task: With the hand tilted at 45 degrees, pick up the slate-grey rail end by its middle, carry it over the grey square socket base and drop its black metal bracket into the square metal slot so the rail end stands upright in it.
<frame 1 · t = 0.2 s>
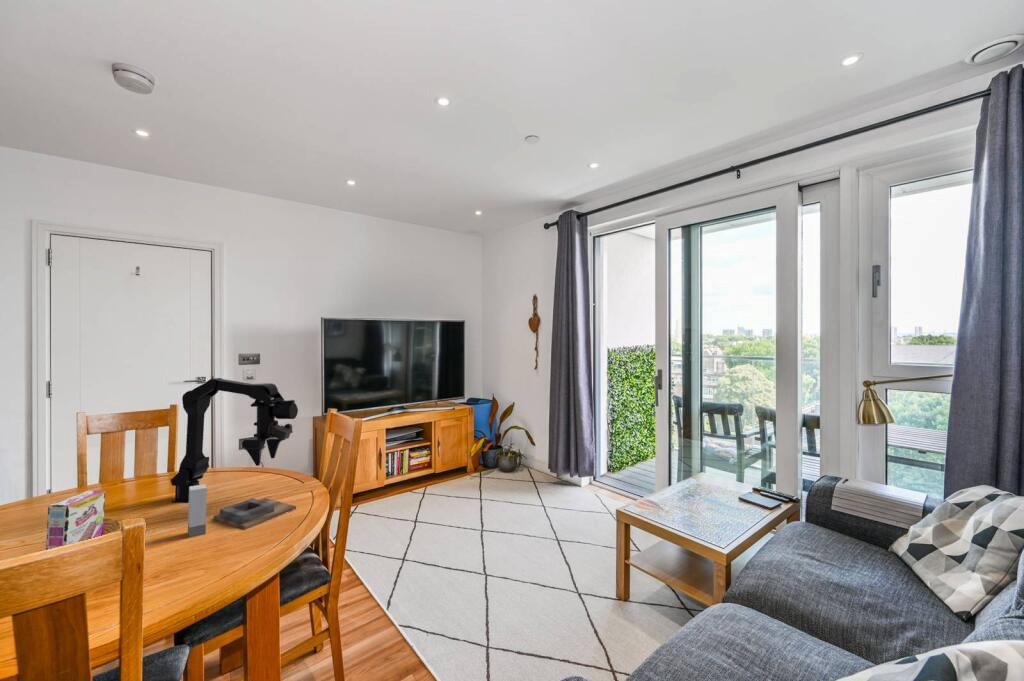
hand: (265, 461, 154), 14 cm above the table, tool pointing down, fingers open, 9 cm apart
candy bar box: (75, 560, 112), on the table
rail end: (196, 533, 128), on the table
grey square socket base: (247, 517, 140), on the table
pastry: (103, 535, 126), on the table
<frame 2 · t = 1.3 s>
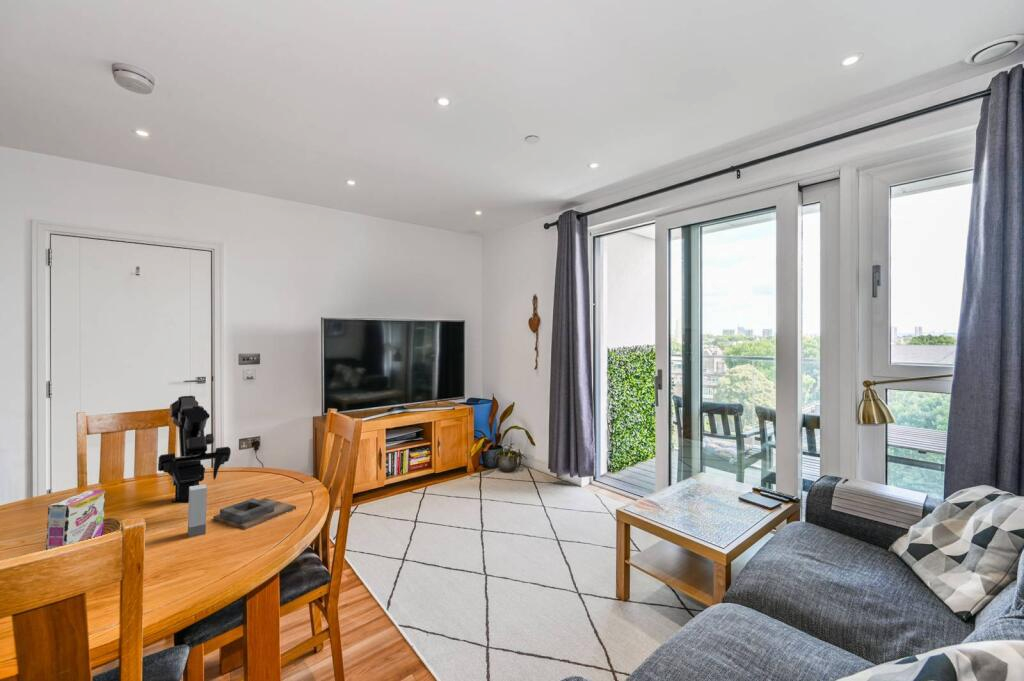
hand: (197, 481, 135), 13 cm above the table, tool tilted 45°, fingers open, 9 cm apart
nothing on the table moved.
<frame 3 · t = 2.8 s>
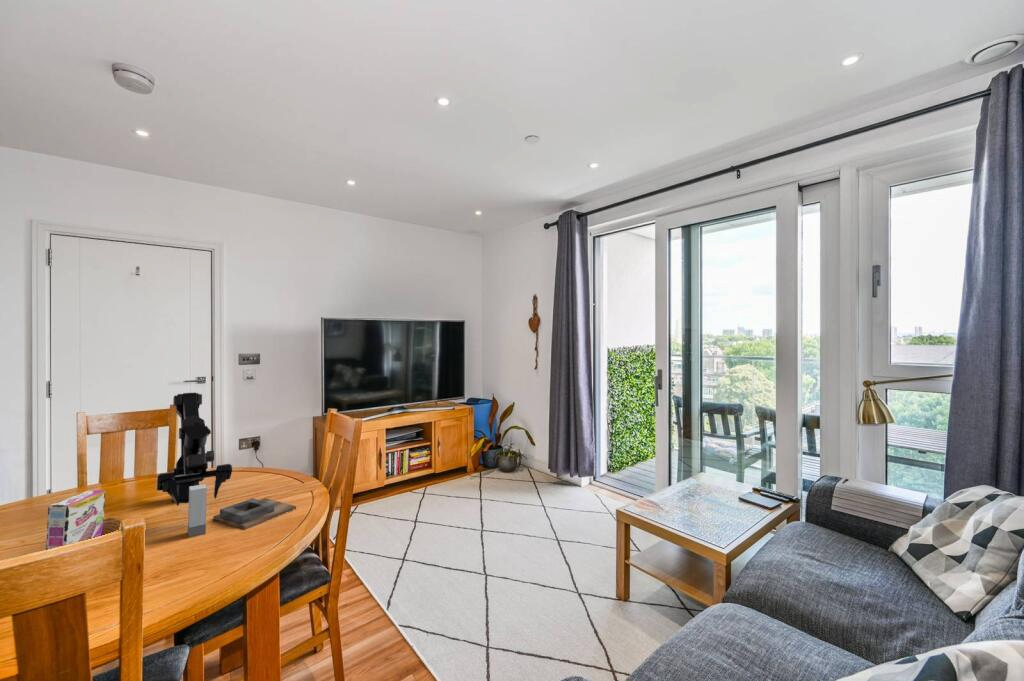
hand: (197, 501, 129), 9 cm above the table, tool tilted 45°, fingers open, 9 cm apart
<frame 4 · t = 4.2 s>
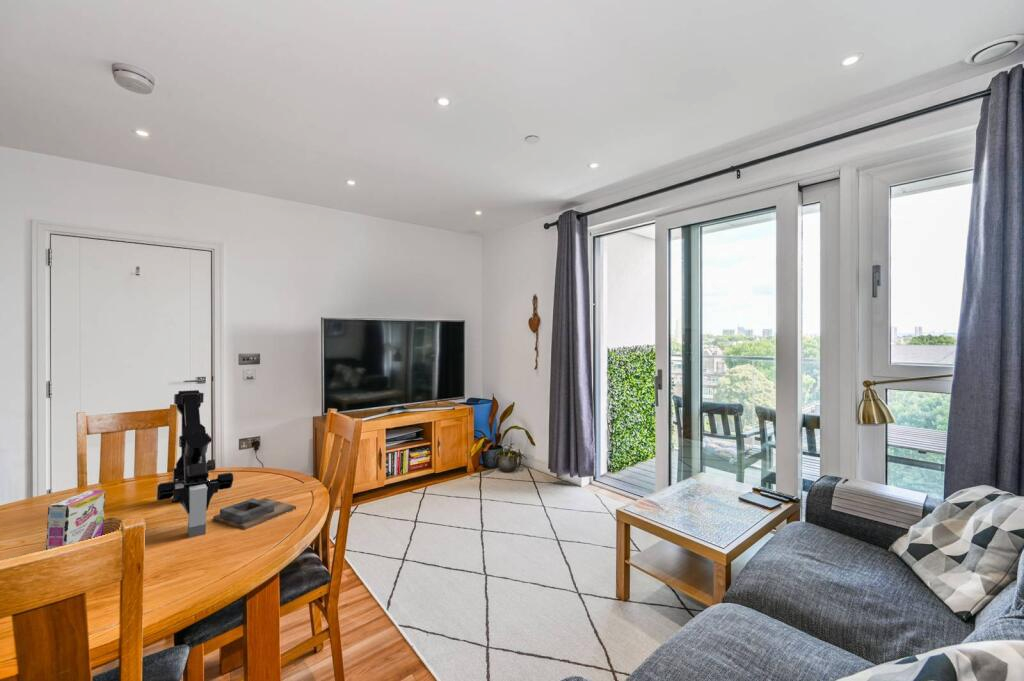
hand: (197, 511, 127), 7 cm above the table, tool tilted 45°, fingers closed on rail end, 4 cm apart
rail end: (196, 533, 128), on the table, touching gripper
everything else where it was.
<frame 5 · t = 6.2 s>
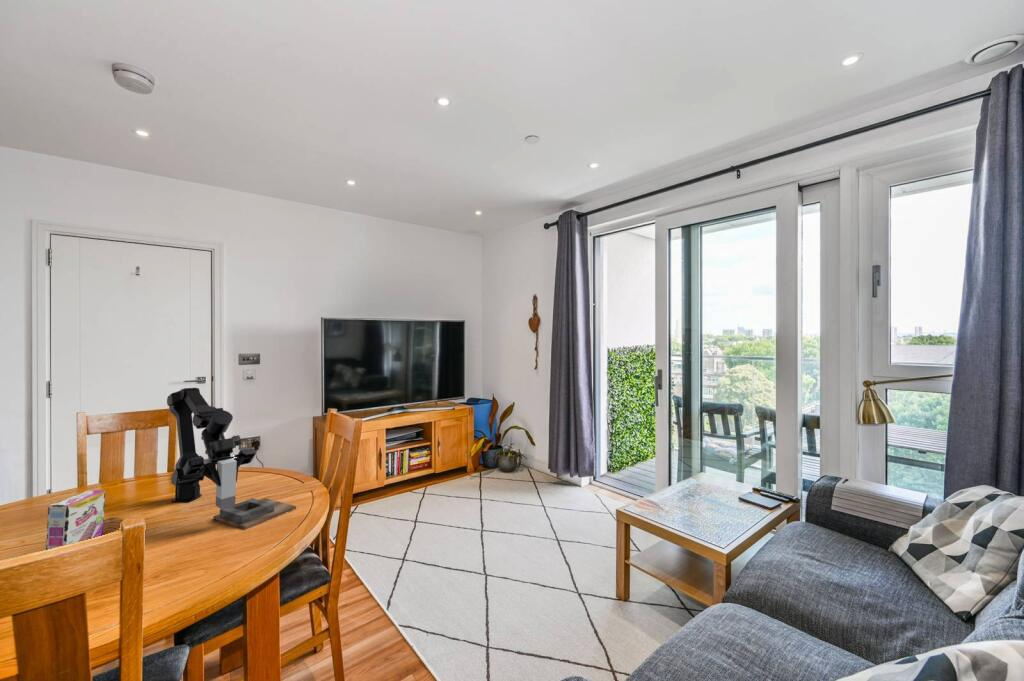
hand: (228, 483, 133), 13 cm above the table, tool tilted 45°, fingers closed on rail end, 4 cm apart
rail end: (225, 505, 134), point 6 cm above the table, touching gripper
when the fingers open (9 cm above the table, at t = 8.2 s): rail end stays where it is, resting on grey square socket base.
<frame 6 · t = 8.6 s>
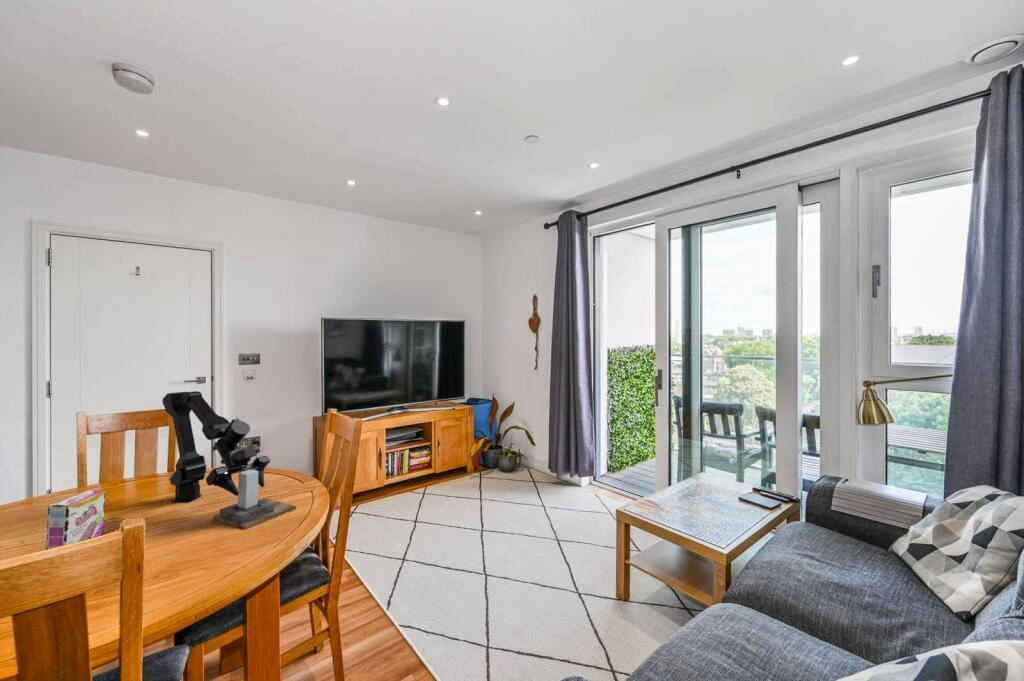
hand: (250, 490, 140), 9 cm above the table, tool tilted 45°, fingers open, 8 cm apart
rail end: (247, 514, 140), point 1 cm above the table, touching grey square socket base
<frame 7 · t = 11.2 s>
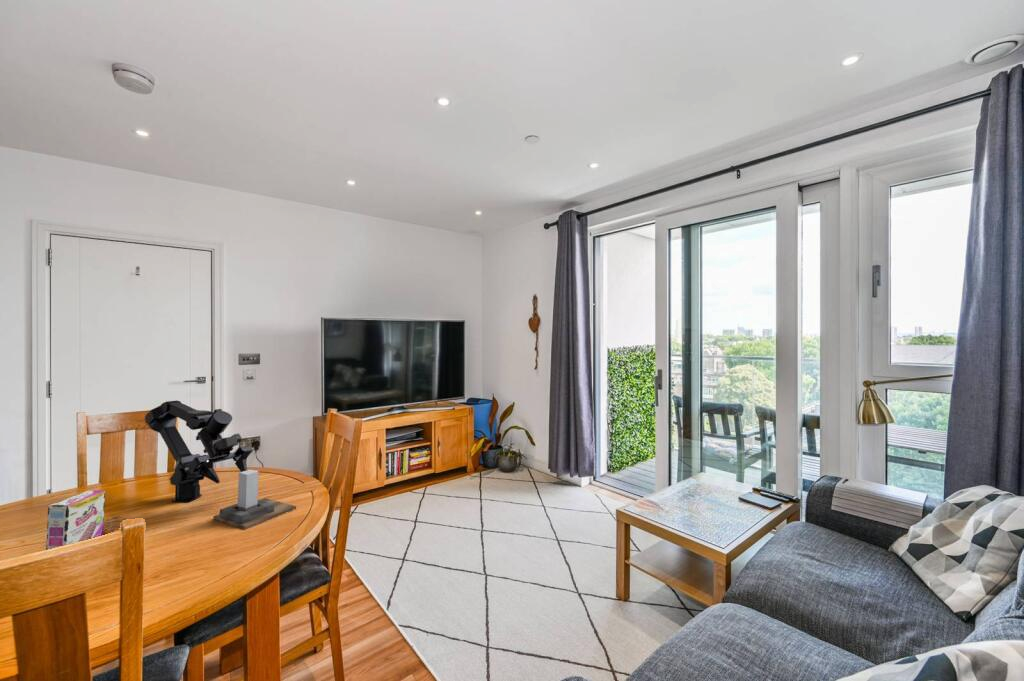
hand: (232, 478, 144), 12 cm above the table, tool tilted 45°, fingers open, 9 cm apart
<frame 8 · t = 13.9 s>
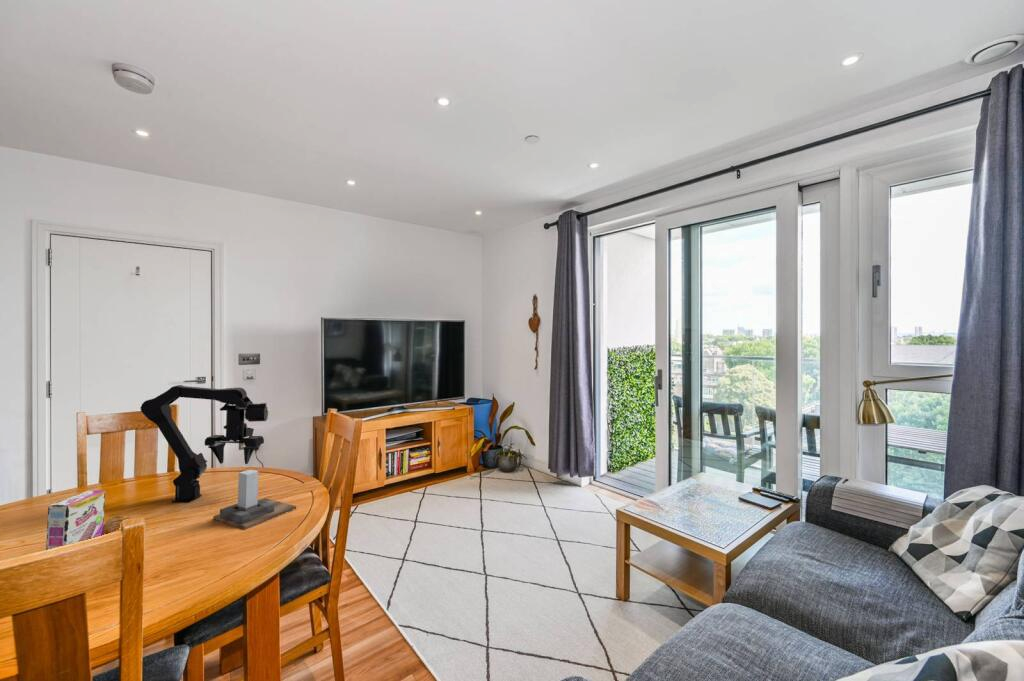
hand: (234, 463, 158), 12 cm above the table, tool pointing down, fingers open, 9 cm apart
at the end: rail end 0.0 cm off-centre on the grey square socket base, point 1.0 cm above the grey square socket base's base; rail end tilted 0°; the gripper is holding nothing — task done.
